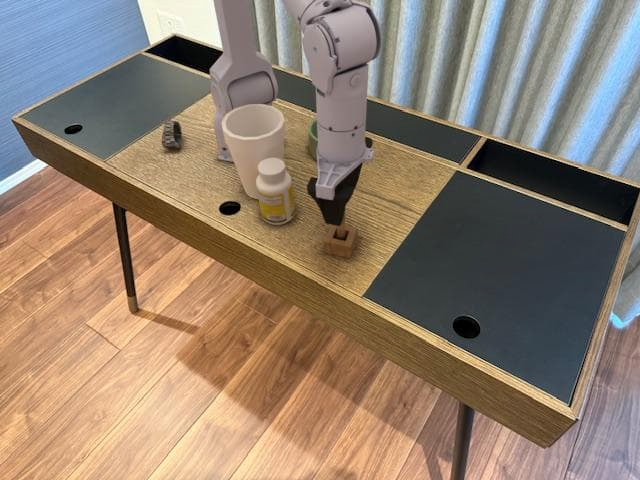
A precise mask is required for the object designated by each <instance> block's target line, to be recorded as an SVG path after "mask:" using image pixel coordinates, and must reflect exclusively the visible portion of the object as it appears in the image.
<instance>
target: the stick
mask: <svg viewBox="0 0 640 480" xmlns="http://www.w3.org/2000/svg"><path fill="white" fill-rule="evenodd" d="M345 225H346V211H345V212H344V217H343V220H342V223H341V225H340V226H337V239H339V240H344V241H345Z"/></svg>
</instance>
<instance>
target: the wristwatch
mask: <svg viewBox="0 0 640 480" xmlns="http://www.w3.org/2000/svg"><path fill="white" fill-rule="evenodd" d="M182 138H183V132H182V126H181V124H180V122H179V121H178V120H165V122H164V126H163V131H162V134H161V145H162V147H163V148H165V149H169V150H173V149H175V150H177V149H180V148H181V145H182Z"/></svg>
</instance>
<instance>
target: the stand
mask: <svg viewBox="0 0 640 480" xmlns="http://www.w3.org/2000/svg"><path fill="white" fill-rule="evenodd" d="M358 230H359V228H358V227H356V226H351V225H346V224H345V241H344V240H339V239H337V226H336V225H331V224H330V226H329V228H328V230H327V233H326V236H325V238H324V241H323V252H324V253H325V254H328V255H334V256H338V257H343V258H347V259H351V258H352V255H353V251H354V249H355V247H356V244H357V241H358Z"/></svg>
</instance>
